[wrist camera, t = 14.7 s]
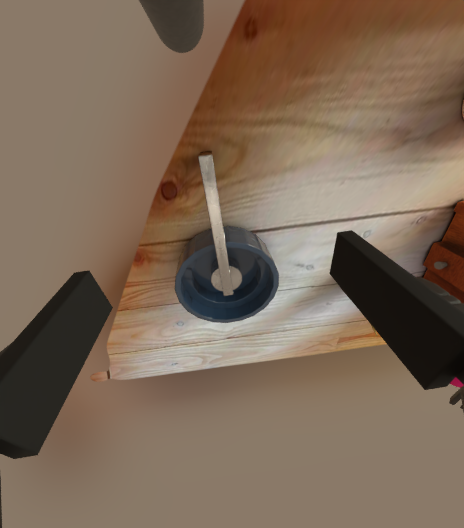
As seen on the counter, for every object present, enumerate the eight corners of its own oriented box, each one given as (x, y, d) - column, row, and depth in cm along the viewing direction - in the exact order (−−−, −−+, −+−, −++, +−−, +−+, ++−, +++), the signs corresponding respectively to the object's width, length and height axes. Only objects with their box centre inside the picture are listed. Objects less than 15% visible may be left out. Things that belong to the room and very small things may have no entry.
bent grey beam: (241, 278, 37) (247, 305, 31) (213, 283, 37) (214, 310, 31) (225, 148, 26) (230, 151, 20) (186, 154, 26) (179, 158, 20)
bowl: (168, 232, 32) (161, 252, 27) (268, 217, 32) (279, 234, 27) (191, 304, 41) (189, 329, 36) (269, 291, 41) (278, 314, 36)
